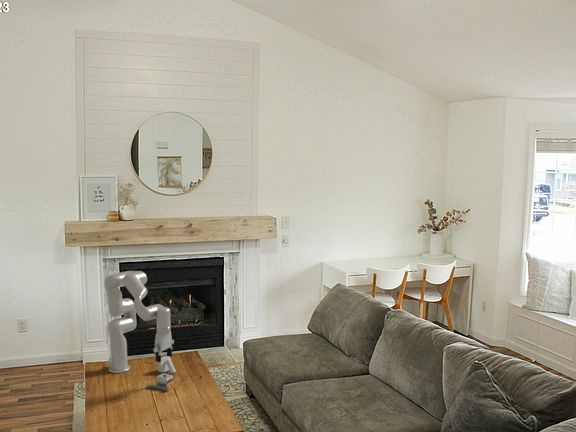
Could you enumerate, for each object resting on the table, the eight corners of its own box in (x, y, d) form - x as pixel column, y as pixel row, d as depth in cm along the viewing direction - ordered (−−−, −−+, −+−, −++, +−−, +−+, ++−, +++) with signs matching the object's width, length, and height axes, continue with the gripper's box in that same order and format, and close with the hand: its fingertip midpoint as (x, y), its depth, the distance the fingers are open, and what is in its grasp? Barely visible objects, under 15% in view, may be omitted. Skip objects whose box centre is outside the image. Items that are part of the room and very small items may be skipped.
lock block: (157, 386, 321) (156, 375, 320) (163, 383, 326) (162, 372, 325) (167, 388, 318) (166, 377, 317) (173, 385, 323) (172, 374, 322)
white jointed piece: (170, 376, 335) (167, 359, 335) (159, 376, 341) (156, 359, 341) (180, 371, 341) (177, 355, 341) (169, 372, 347) (166, 355, 348)
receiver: (145, 387, 319) (145, 382, 319) (161, 379, 332) (161, 373, 331) (166, 392, 313) (166, 386, 312) (182, 383, 325) (182, 377, 325)
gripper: (167, 324, 328) (168, 352, 330) (148, 332, 312) (148, 362, 314) (178, 326, 324) (178, 355, 326) (159, 335, 309) (159, 365, 311)
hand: (163, 358), depth 320 cm, fingers open, 9 cm apart
